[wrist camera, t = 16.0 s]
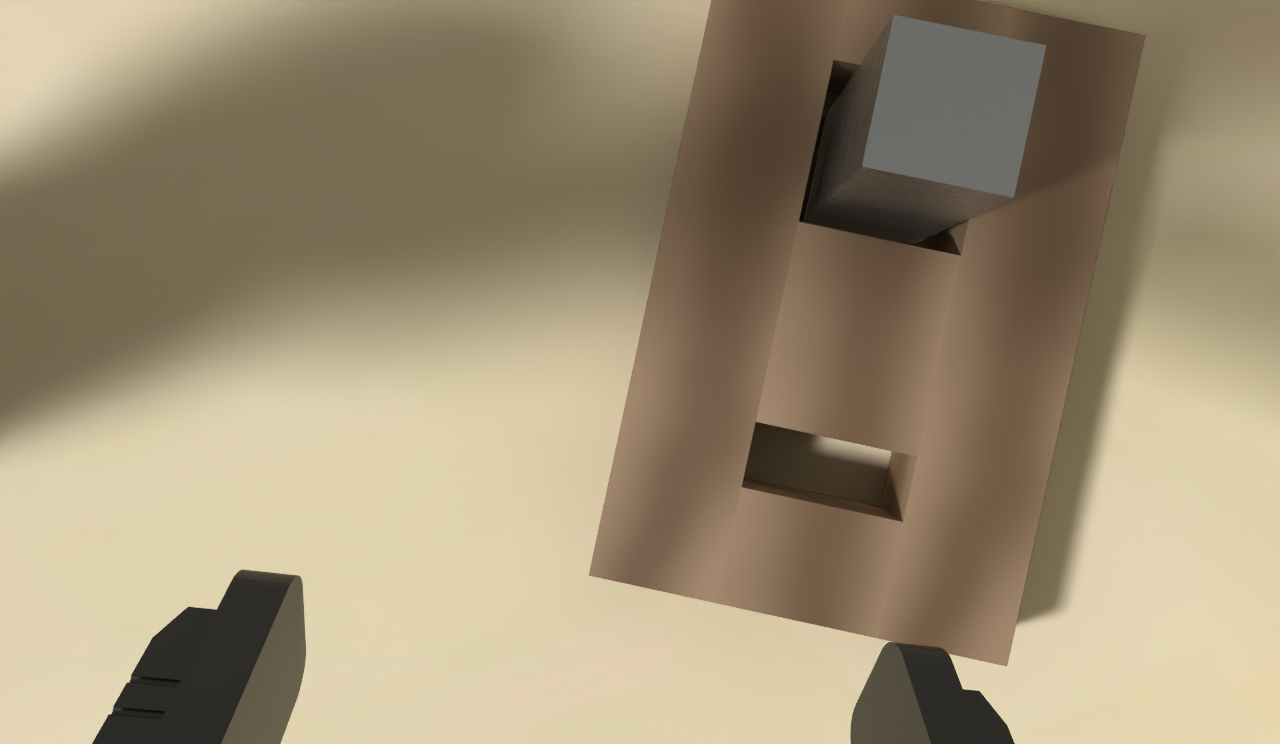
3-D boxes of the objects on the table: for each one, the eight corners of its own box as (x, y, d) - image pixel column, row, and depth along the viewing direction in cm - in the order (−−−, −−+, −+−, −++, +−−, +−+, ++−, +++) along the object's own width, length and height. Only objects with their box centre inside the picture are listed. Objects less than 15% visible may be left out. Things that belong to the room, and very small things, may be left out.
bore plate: (594, 555, 32) (589, 575, 29) (716, -12, 32) (722, -52, 29) (973, 637, 32) (1007, 666, 29) (1098, 67, 32) (1145, 35, 29)
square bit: (803, 222, 32) (861, 166, 23) (826, 114, 32) (893, 14, 23) (912, 245, 32) (1013, 197, 23) (935, 135, 32) (1046, 45, 23)
